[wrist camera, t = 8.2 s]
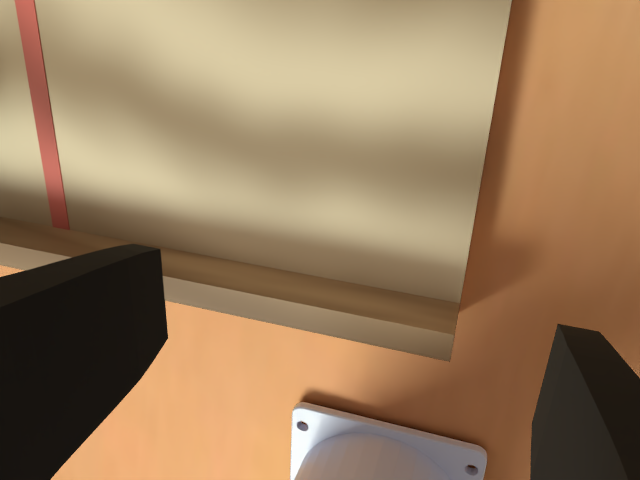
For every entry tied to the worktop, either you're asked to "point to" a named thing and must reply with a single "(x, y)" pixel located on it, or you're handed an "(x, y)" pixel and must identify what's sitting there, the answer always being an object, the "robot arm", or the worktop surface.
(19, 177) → the lane
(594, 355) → the robot arm
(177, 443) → the worktop surface
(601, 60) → the worktop surface
